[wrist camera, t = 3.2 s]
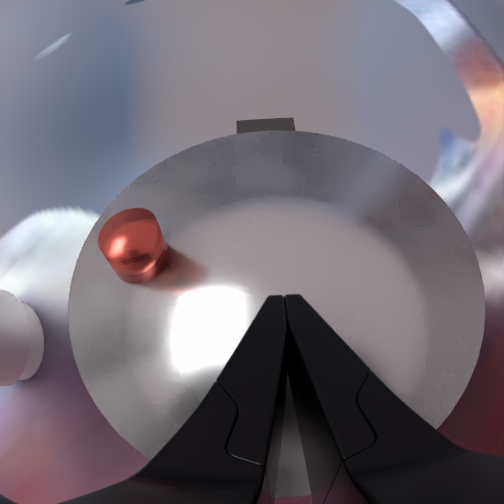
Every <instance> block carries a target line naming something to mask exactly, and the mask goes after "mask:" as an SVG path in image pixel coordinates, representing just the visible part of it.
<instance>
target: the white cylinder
mask: <svg viewBox="0 0 504 504" xmlns="http://www.w3.org/2000/svg"><path fill="white" fill-rule="evenodd" d="M43 353H44V334H43V328H42V325H41V322H40V319H39V317H38V316H37V314H36V312H35V311H34V310H33V309H32V308H31V307H30V306H29V305H28V304H26V303H24V302H19V300H18V299H17V298H16V297H15V296H14V295H13V294H11V293H9V292H7V291H5V290H0V386H9V385H12V384H13V383H15V382H16V381H17V380H26V379H29V378H30V377H32V376H33V375H34V374H35V373H36V371H37V370H38V369H39V366H40V364H41V362H42V358H43Z"/></svg>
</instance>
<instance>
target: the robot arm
mask: <svg viewBox="0 0 504 504" xmlns="http://www.w3.org/2000/svg"><path fill="white" fill-rule="evenodd" d="M287 369H288V377H289V383H290V388H291V393H292V398H293V403H294V408H295V413H296V418H297V423H298V428H299V433H300V438H301V443H302V448H303V453H304V458H305V464H306V469H307V474H308V479H309V484H310V489H311V495H312V500H313V504H504V456H499V455H493V454H486V453H481V452H475V451H471V450H468V449H465V448H463V447H461V446H458V445H457V444H455V443H453V442H452V441H450V440H449V439H448V438H446V437H445V436H444V435H443V434H441V433H440V432H439V431H438V430H437V429H435V428H434V427H433V426H432V425H430V424H429V423H428V422H427V421H426V420H424V419H423V418H422V417H421V416H420V415H418V414H417V413H416V412H415V411H413V410H412V409H411V408H410V407H409V406H408V405H406V404H405V403H404V402H403V401H402V400H401V399H400V398H399V397H397V396H396V395H395V394H394V393H393V392H392V391H391V390H390V389H389V388H388V387H387V386H386V385H385V384H384V383H383V382H382V381H381V380H380V379H379V378H378V377H377V375H376V374H375V373H374V372H373V371H370V368H369V367H368V366H367V365H366V364H365V363H364V362H363V361H362V359H361V358H360V357H359V356H358V355H357V354H356V353H355V352H354V351H353V350H352V349H351V348H350V347H349V346H348V344H347V343H346V342H345V341H344V340H343V339H342V338H341V337H340V336H339V335H338V334H337V333H336V332H335V331H334V330H333V328H332V327H331V326H330V325H329V324H328V323H327V322H326V321H325V320H324V319H323V318H322V317H321V316H320V315H319V314H318V312H317V311H316V310H315V309H314V308H313V307H312V306H311V305H310V304H309V303H308V302H307V301H306V300H305V299H304V298H303V296H302V295H300V294H286V295H285V296H283V295H269V296H267V298H266V300H265V301H264V303H263V304H262V306H261V308H260V309H259V311H258V313H257V314H256V316H255V318H254V319H253V321H252V323H251V324H250V326H249V327H248V329H247V331H246V332H245V334H244V336H243V337H242V339H241V340H240V342H239V344H238V345H237V347H236V348H235V350H234V352H233V353H232V355H231V356H230V358H229V360H228V361H227V363H226V364H225V366H224V368H223V369H222V371H221V372H220V374H219V375H218V377H217V379H216V381H215V382H214V383H213V385H212V386H211V388H210V389H209V391H208V392H207V394H206V395H205V397H204V398H203V400H202V401H201V402H200V404H199V405H198V407H197V408H196V409H195V411H194V412H193V413H192V414H191V416H190V417H189V418H188V419H187V420H186V422H185V423H184V424H183V425H182V426H181V427H180V428H179V430H178V431H177V432H176V433H175V434H174V435H173V436H172V437H171V439H170V440H169V441H168V442H167V443H166V444H165V445H164V446H163V447H162V448H161V449H160V451H159V452H158V453H157V454H156V455H155V456H154V457H153V458H152V459H151V460H150V461H149V462H148V463H147V464H146V465H145V466H144V467H143V468H142V469H141V470H140V471H138V472H137V473H136V474H134V475H133V476H131V477H129V478H128V479H126V480H123V481H121V482H119V483H116V484H114V485H111V486H108V487H106V488H103V489H100V490H97V491H95V492H92V493H89V494H86V495H83V496H80V497H77V498H74V499H71V500H68V501H64V502H61V503H58V504H274V502H275V494H276V486H277V477H278V469H279V460H280V451H281V441H282V431H283V421H284V411H285V400H286V388H287ZM0 504H18V503H16V502H14V501H12V500H10V499H8V498H6V497H4V496H3V495H1V494H0Z"/></svg>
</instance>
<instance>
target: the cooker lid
mask: <svg viewBox="0 0 504 504" xmlns="http://www.w3.org/2000/svg"><path fill="white" fill-rule="evenodd" d="M286 294H300V295H302V296H303V298H304V299H305V300H306V301H307V302H308V303H309V304H310V305H311V306H312V307H313V308H314V309H315V310H316V311H317V312H318V314H319V315H320V316H321V317H322V318H323V319H324V320H325V321H326V322H327V323H328V324H329V325H330V326H331V327H332V328H333V330H334V331H335V332H336V333H337V334H338V335H339V336H340V337H341V338H342V339H343V340H344V341H345V342H346V343H347V344H348V346H349V347H350V348H351V349H352V350H353V351H354V352H355V353H356V354H357V355H358V356H359V357H360V358H361V359H362V361H363V362H364V363H365V364H366V365H367V366H368V367H369V368H370V371H373V372H374V373H375V374H376V375H377V377H378V378H379V379H380V380H381V381H382V382H383V383H384V384H385V385H386V386H387V387H388V388H389V389H390V390H391V391H392V392H393V393H394V394H395V395H396V396H397V397H399V398H400V399H401V400H402V401H403V402H404V403H405V404H406V405H408V406H409V407H410V408H411V409H412V410H413V411H415V412H416V413H417V414H418V415H420V416H421V417H422V418H423V419H424V420H426V421H427V422H428V423H429V424H430V425H432V426H433V427H434V428H435V429H437V428H438V427H439V426H440V425H441V424H442V423H443V421H444V420H445V419H446V418H447V417H448V416H449V414H450V413H451V412H452V410H453V409H454V407H455V405H456V404H457V402H458V401H459V399H460V397H461V396H462V394H463V392H464V391H465V389H466V387H467V385H468V383H469V380H470V378H471V376H472V373H473V371H474V368H475V366H476V363H477V360H478V357H479V352H480V348H481V344H482V339H483V334H484V323H485V297H484V286H483V280H482V276H481V272H480V268H479V264H478V260H477V258H476V255H475V252H474V250H473V247H472V245H471V242H470V240H469V238H468V236H467V234H466V233H465V231H464V229H463V227H462V225H461V224H460V222H459V220H458V219H457V218H456V216H455V215H454V213H453V212H452V211H451V209H450V208H449V207H448V205H447V204H446V203H445V202H444V201H443V200H442V198H441V197H440V196H439V195H438V194H437V193H436V192H435V191H434V190H433V189H432V188H431V187H430V186H429V185H428V184H426V183H425V182H424V181H423V180H422V179H420V177H418V176H417V175H416V174H414V173H413V172H412V171H410V170H409V169H407V168H406V167H404V166H403V165H402V164H400V163H398V162H396V161H394V160H393V159H391V158H389V157H388V156H386V155H384V154H382V153H380V152H377V151H375V150H373V149H371V148H368V147H366V146H364V145H361V144H357V143H355V142H352V141H349V140H346V139H342V138H338V137H334V136H330V135H324V134H318V133H312V132H303V131H290V130H270V131H256V132H247V133H241V134H235V135H230V136H226V137H221V138H218V139H214V140H210V141H207V142H204V143H202V144H198V145H196V146H193V147H191V148H188V149H186V150H183V151H181V152H179V153H177V154H175V155H173V156H171V157H169V158H167V159H165V160H164V161H162V162H160V163H159V164H157V165H155V166H153V167H152V168H151V169H149V170H148V171H146V172H145V173H143V174H142V175H141V176H139V177H138V178H137V179H135V180H134V181H133V182H132V183H131V184H130V185H129V186H128V187H126V188H125V189H124V190H123V191H122V192H121V193H120V194H119V195H118V196H117V197H116V198H115V199H114V200H113V201H112V202H111V204H110V205H109V206H108V207H107V208H106V210H105V211H104V212H103V214H102V215H101V216H100V218H99V219H98V220H97V222H96V223H95V225H94V227H93V228H92V230H91V232H90V234H89V235H88V237H87V239H86V241H85V243H84V245H83V247H82V250H81V252H80V255H79V257H78V260H77V262H76V266H75V270H74V273H73V277H72V281H71V286H70V295H69V304H68V319H69V334H70V340H71V345H72V350H73V355H74V359H75V361H76V364H77V367H78V370H79V372H80V375H81V378H82V380H83V383H84V385H85V387H86V389H87V390H88V392H89V394H90V396H91V397H92V399H93V401H94V403H95V404H96V406H97V408H98V409H99V411H100V412H101V413H102V414H103V416H104V417H105V418H106V419H107V421H108V422H109V423H110V424H111V425H112V427H113V428H114V429H115V430H116V431H117V433H118V434H119V435H121V436H122V437H123V438H124V439H125V440H126V441H127V442H128V443H130V444H131V445H132V446H133V447H134V448H135V449H136V450H138V451H139V452H140V453H141V454H142V455H144V456H145V457H147V458H148V459H150V460H151V459H152V458H153V457H154V456H155V455H156V454H157V453H158V452H159V451H160V449H161V448H162V447H163V446H164V445H165V444H166V443H167V442H168V441H169V440H170V439H171V437H172V436H173V435H174V434H175V433H176V432H177V431H178V430H179V428H180V427H181V426H182V425H183V424H184V423H185V422H186V420H187V419H188V418H189V417H190V416H191V414H192V413H193V412H194V411H195V409H196V408H197V407H198V405H199V404H200V402H201V401H202V400H203V398H204V397H205V395H206V394H207V392H208V391H209V389H210V388H211V386H212V385H213V383H214V382H215V381H216V379H217V377H218V375H219V374H220V372H221V371H222V369H223V368H224V366H225V364H226V363H227V361H228V360H229V358H230V356H231V355H232V353H233V352H234V350H235V348H236V347H237V345H238V344H239V342H240V340H241V339H242V337H243V336H244V334H245V332H246V331H247V329H248V327H249V326H250V324H251V323H252V321H253V319H254V318H255V316H256V314H257V313H258V311H259V309H260V308H261V306H262V304H263V303H264V301H265V300H266V298H267V296H269V295H283V296H285V295H286ZM305 495H311V489H310V484H309V479H308V474H307V469H306V464H305V458H304V453H303V448H302V443H301V438H300V433H299V428H298V423H297V418H296V413H295V408H294V403H293V398H292V393H291V388H290V383H289V377H288V369H287V388H286V400H285V411H284V421H283V431H282V441H281V451H280V460H279V469H278V477H277V486H276V494H275V497H298V496H305Z"/></svg>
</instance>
